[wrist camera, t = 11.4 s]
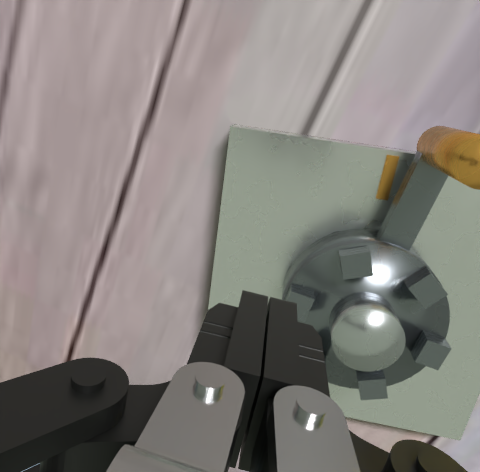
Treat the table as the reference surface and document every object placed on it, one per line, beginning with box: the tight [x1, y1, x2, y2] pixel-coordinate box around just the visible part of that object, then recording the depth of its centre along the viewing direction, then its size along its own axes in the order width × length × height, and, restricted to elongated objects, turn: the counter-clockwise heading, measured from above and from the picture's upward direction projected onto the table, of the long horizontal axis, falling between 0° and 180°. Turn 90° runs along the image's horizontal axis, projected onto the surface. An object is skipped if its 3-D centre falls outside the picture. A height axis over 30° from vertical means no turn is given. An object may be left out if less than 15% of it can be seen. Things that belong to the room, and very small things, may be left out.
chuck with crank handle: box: [282, 126, 480, 400], centre depth 26 cm, size 19×11×8 cm, turn 162°
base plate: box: [208, 124, 480, 440], centre depth 32 cm, size 22×22×2 cm
